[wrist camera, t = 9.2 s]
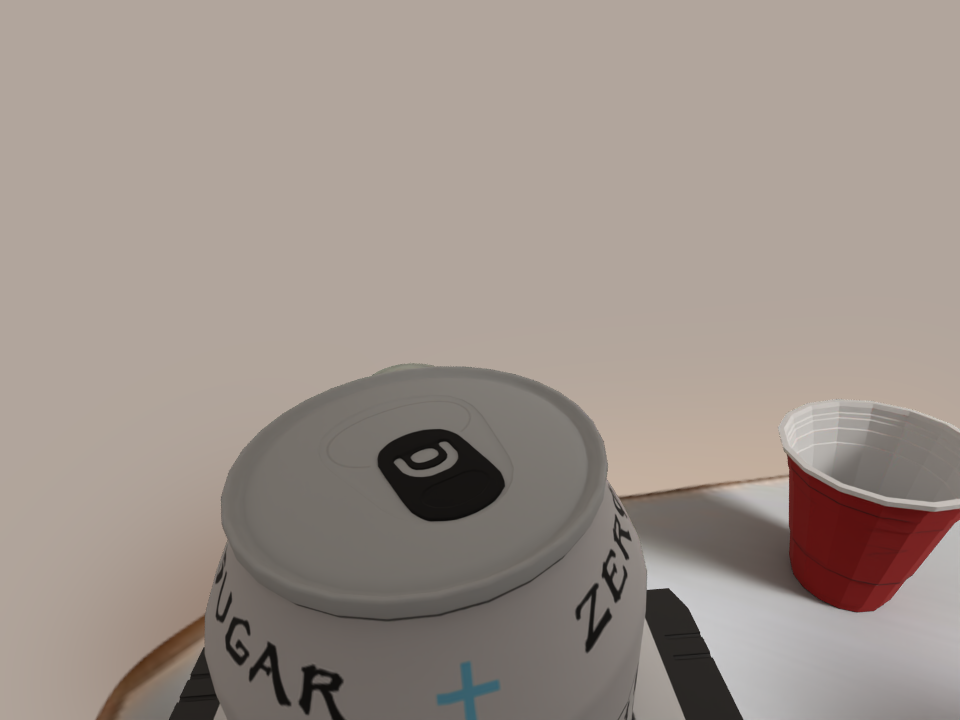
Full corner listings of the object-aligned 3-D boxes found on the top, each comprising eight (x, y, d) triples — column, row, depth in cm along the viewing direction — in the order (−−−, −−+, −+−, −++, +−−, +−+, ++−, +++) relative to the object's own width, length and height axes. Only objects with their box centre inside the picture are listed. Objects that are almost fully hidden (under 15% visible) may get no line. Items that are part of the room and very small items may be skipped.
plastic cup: (717, 540, 39) (742, 410, 34) (831, 512, 41) (870, 385, 36) (837, 671, 30) (897, 517, 24) (977, 625, 32) (1059, 474, 27)
